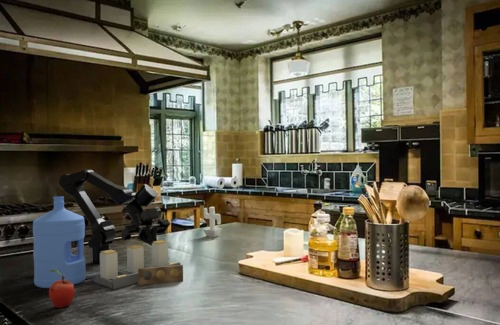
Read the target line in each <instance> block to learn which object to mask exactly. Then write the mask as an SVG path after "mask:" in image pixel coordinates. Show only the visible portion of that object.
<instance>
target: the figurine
mask: <svg viewBox="0 0 500 325" xmlns="http://www.w3.org/2000/svg"><path fill="white" fill-rule="evenodd" d="M208 209H209V210H208ZM215 210H216V209H215V206H210V207H209V208H208V207H204V208H203V218H204V219H206V220H209V227H208V228H207V227H206V228H205V229H202V231H203V233H204V234H205V236H206V238H207V237H208V238H216V237H219V235H220V234H221V231H222V229H223V228H221V227H216V224H217V225H221V223H222V222H221V221H222V217H221V214H220V213H216V211H215Z"/></svg>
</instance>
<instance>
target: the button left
mask: <svg viewBox="0 0 500 325" xmlns="http://www.w3.org/2000/svg"><path fill="white" fill-rule="evenodd" d="M118 257H119V256H118V252H117V250H113V249H111V250H106V251H101V253H100V263H99V273H100V274H99V275H100V276H99V277H102V278H105V279H108V280H109V279H112V278H116V277H117V276H118V272H119V265H118V264H119V263H118Z"/></svg>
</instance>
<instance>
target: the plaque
mask: <svg viewBox="0 0 500 325" xmlns="http://www.w3.org/2000/svg"><path fill="white" fill-rule="evenodd" d="M175 282H176V283H177V282H184V264H180V265H173V266H160V267H147V268H138V283H137V284H138V286H143V285H152V284H153V285H154V284H165V283H175Z"/></svg>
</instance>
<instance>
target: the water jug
mask: <svg viewBox="0 0 500 325" xmlns="http://www.w3.org/2000/svg"><path fill="white" fill-rule="evenodd" d="M52 199H53V209H52V210H50V211H49V212H46V213H45V214H42V215H41V216H39V217H37V218H35V219H34V220H33V221H32V234H33V266H34V268H33V269H34V270H33V271H34V277H33V283H34V286H35V287H37V288H41V289H42V288H43V289H50V287H51V285H52V284H53V283H54V282H56V281H59V280H62V276H63V275H65V277H64V280H67V281H69V282H71V283H72V284H73V285H74V286H75V285H77V284H80V283H82V282H83V281H85V279H87V270H86V257H85V256H84V255H85V250H84V249H85V248H84V246H85V245H84V239H85V232H86V230H85V229H86V224H85V217H84V216H83V215H80V214H79V213H75V212H74V211H70V210H68V209H66V208H65V201H64V200H65V196H62V195H61V196H53V197H52ZM75 241H77V254H73V253H72V242H75ZM50 270H56V271H60V273H61V275H60V274H59V273H58V272H56V271H54V272H49V271H50Z"/></svg>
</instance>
